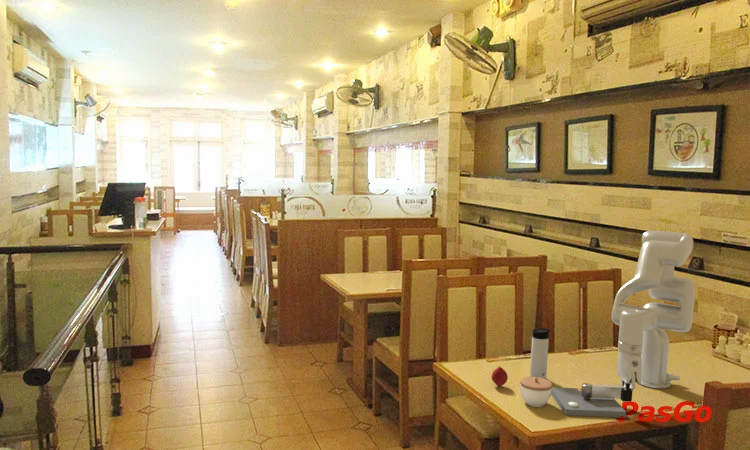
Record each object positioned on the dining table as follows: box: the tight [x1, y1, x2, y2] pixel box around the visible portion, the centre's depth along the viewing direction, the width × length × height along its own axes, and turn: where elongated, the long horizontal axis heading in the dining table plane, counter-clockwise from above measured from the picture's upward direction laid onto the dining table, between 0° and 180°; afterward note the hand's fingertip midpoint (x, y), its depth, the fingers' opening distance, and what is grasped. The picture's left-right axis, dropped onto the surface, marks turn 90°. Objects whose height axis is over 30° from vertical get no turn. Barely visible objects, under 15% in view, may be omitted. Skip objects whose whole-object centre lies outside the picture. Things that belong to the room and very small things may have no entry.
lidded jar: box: [519, 376, 553, 408], centre depth 213 cm, size 11×11×9 cm
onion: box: [491, 365, 509, 387], centre depth 228 cm, size 6×6×8 cm
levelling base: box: [551, 386, 627, 418], centre depth 214 cm, size 20×20×3 cm
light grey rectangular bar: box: [581, 382, 621, 400], centre depth 213 cm, size 15×4×5 cm, turn 88°
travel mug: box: [529, 327, 551, 380], centre depth 237 cm, size 6×7×20 cm
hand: (625, 400), depth 206 cm, fingers closed
